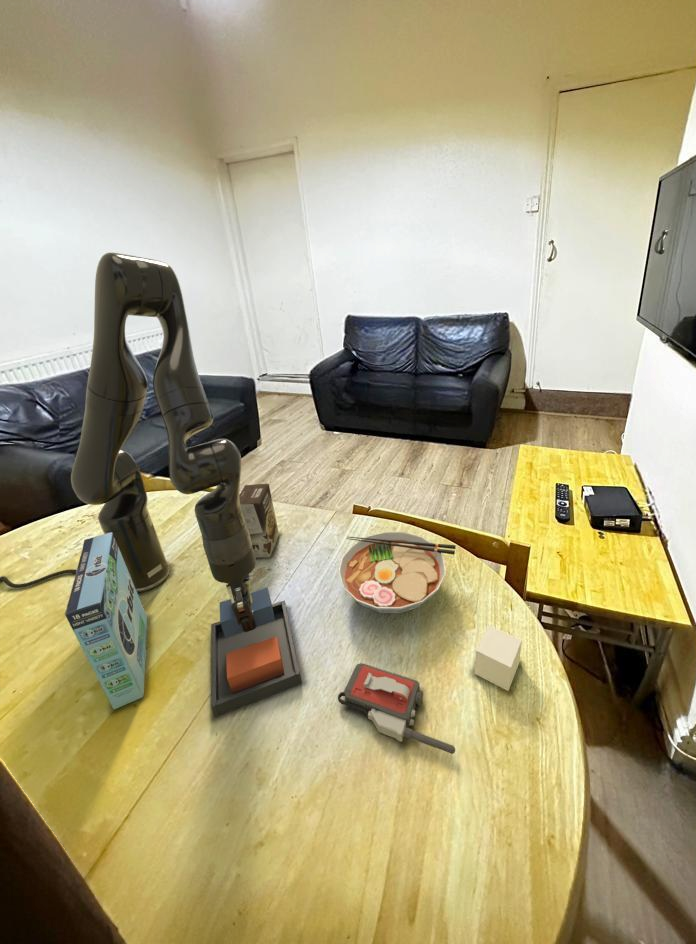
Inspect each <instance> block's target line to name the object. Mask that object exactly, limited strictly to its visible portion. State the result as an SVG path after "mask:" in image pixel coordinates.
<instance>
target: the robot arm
mask: <svg viewBox="0 0 696 944" xmlns="http://www.w3.org/2000/svg"><path fill="white" fill-rule="evenodd" d="M94 279H95V280H94V308H93V309H94V312H93V313H94V314H93V318H94V320H93V340H92V351H91V359H90V366H89V371H88V377H87V382H86V391H85V403H84V405H85V407H84V414H83V420H82V425H81V434H80V440H79V445H78V448H77V452H76V455H75V459H74V462H73V466H72V469H71V474H70V483H71V484H70V485H71V488H72V490H73V492H74V494H75V495H76V497H77V498H78V499H79V500H80V501H81V502H83V503H84V504H87V505H90V506H100V505H103V506H102V508H101V509H100V511H99V513H98V516H97V517H98V518H97V520H98V523H99V525H100V528H101V530H102V532H103V534H107V533H111V532H112V533H113V535H114V538H115V540H116V542H117V545H118V547H119V550H120V552H121V555H122V557H123V560H124V562H125V565H126V567H127V569H128V572H129V574H130V577H131V579H132V582H133V584H134V587H135V589H136V591H137V593H143V592H147V591H150V590H153V589H154V588H156V587H157V586H159V585H161V584H162V583H163V582H164V581H166V579H167V578H168V576H170V572H171V569H170V566H169V564H168V561H167V559H166V556H165V553H164V550H163V548H162V545H161V542H160V539H159V537H158V534H157V531H156V528H155V525H154V523H153V520H152V517H151V515H150V512H149V508H148V500H149V499H148V494H147V490H146V486H145V484H144V479H143V476H142V473H141V469H140V467H139V465H138V463H137V461H136V460H135V458H134V457H133V456H132V455H131V454H130V453H129V452H127V451H126V450H125V449H122V448H123V447H124V445H125V443H126V442H127V441H128V440H129V437H130V436H131V435H132V433H133V431H134V430H135V428H136V426H137V424H138V423H139V421H140V419H141V417H142V414H143V411H144V409H145V404H146V399H147V395H148V388H149V382H148V378H147V375H146V373H145V370H144V369H143V367H142V366H141V364H140V362H139V361H138V359H137V358H136V356H135V354H134V353H133V351H132V349H131V348H130V345H129V343H128V341H127V338H126V322H127V319H128V317H129V316H133V317H134V316H136V317H148V318H157V320H158V322H159V325H160V326H161V328H162V329H161V330H162V336H163V337H162V345H161V349H160V352H159V355H158V357H157V361H156V364H155V367H154V370H153V375H152V386H153V392H154V397H155V399H156V402H157V405H158V408H159V410H160V413H161V417H162V419H163V423H164V426H165V430H166V434H167V443H168V445H167V446H168V476H169V480H170V484H171V485H172V486H173V488H174V489H175V490H177V492H179V493H181V494H183V495H194V494H197V493H200V492H202V491H205V490H208V489H211V488H214V487H215V488H214V489H212V491H209V492H208V493H206V494H205V495H204V496H202V497H200V498H199V499H198V501H197V502H196V503H195V505H194V515H195V518H196V521H197V524H198V528H199V530H200V534H201V539H202V540H201V541H202V546H203V549H204V553H205V556H206V559H207V562H208V565H209V569H210V572H211V575H212V577H213V579H214V580H215V581H216V582H219V583H222V584H225V586H226V592H227V594H228V595H229V596H230V598H229V599H231V602H232V609H233V611H234V613H235V616H236V619H237V623H238V624H239V625H241V624H242V628H243V631H244V632H248V631H251V630H254V629H255V628H256V625H255V621H254V617H253V610H252V608H251V604H252V602H253V601H252V594H251V592H252V591H251V586H252V584H251V578H250V574H251V573H252V572H253V571H254V569H255V568H256V564H257V558H255V555H254V551H253V546H252V543H251V539H250V534H249V531H248V528H247V526H246V524H245V521H244V517H243V513H242V509H241V505H240V496H239V495H240V493H241V491H240V489H241V487H240V486H241V477H242V456H241V453H240V450H239V448H238V446H237V445H236V444H235V443H233V441H231V440H229V439H228V438H218V439H214V440H210V441H208V442H204V443H200V444H198V445H197V444H196V445H194V446H190V447H189V446H188V447H187V442H188V441H189V439H190V438H191V437H192V436H194V435H196V434H199V433H200V432H202V431H204V430H206V429H208V428H209V427H210V426H211V425H212V424H213V422H214V415H213V412H212V410H211V409H212V408H211V406H210V402H209V400H208V398H207V395H206V392H205V390H204V386H203V384H202V381H201V378H200V376H199V375H200V374H199V372H198V369H197V364H196V361H195V360H196V359H195V357H194V351H193V344H192V340H191V334H190V333H191V331H190V327H189V322H188V317H187V311H186V307H185V302H184V297H183V292H182V287H181V284H180V282H179V278H178V277H177V274H176V273H175V270H174V269H173V268H172V267H171V265H169V264H168V263H167V262H164V261H162V260H157V259H153V258H147V257H143V256H142V257H141V256H137V255H130V254H126V253H125V254H124V253H119V252H106V253H104V254H103V255H102V256H101V257H100V259H99V261H98V263H97V267H96V272H95V277H94ZM76 571H77V569H73V568H72V569H70V568H69V569H63V570H60V571H56V572H53V573H50V574H48V575H45V576H42V577H40V578H38V579H35V580H31V581H29V582H24V583H14V582H12V581H10V580H9V579H8V578H7V577H6V576H3V575H2V576H0V582H3V583H4V584H5V585H6V586H8V587H9V588H13V589H22V588H27V587H30V586H34V585H37V584H39V583H41V582H45V581H47V580H49V579H51V578H54V577H57V576H61V575H66V574H76ZM247 594H248V598H246V599H243V598H244V597H246V596H247ZM235 599H237V601H236V600H235Z"/></svg>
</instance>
